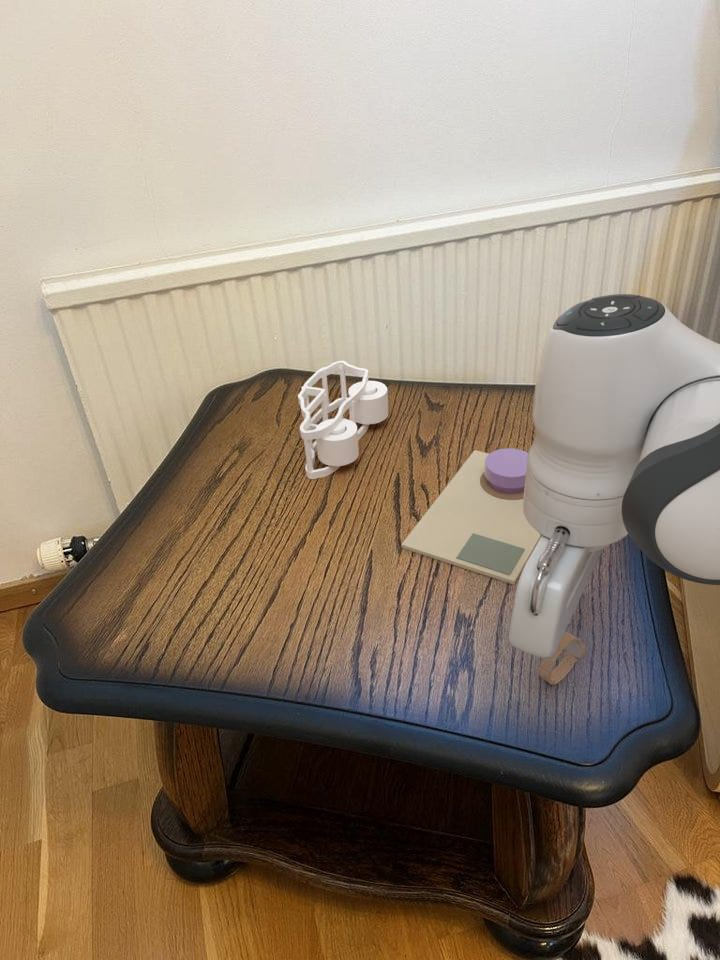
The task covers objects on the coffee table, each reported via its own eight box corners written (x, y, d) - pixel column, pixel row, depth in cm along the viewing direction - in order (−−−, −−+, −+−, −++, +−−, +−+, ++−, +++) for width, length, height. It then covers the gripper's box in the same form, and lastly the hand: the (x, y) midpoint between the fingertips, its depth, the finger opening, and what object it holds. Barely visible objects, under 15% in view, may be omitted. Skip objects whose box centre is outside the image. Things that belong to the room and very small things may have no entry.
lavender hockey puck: (541, 474, 98) (543, 455, 97) (524, 501, 94) (526, 482, 92) (495, 462, 101) (496, 443, 99) (476, 488, 97) (477, 469, 95)
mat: (574, 478, 99) (575, 474, 98) (514, 585, 83) (514, 580, 83) (474, 453, 105) (474, 448, 104) (401, 548, 90) (401, 543, 89)
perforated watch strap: (582, 669, 74) (588, 634, 71) (552, 698, 71) (557, 662, 68) (559, 654, 75) (564, 619, 72) (529, 682, 73) (533, 646, 70)
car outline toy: (345, 486, 100) (341, 439, 96) (271, 470, 104) (264, 425, 100) (398, 411, 115) (397, 368, 110) (332, 400, 119) (328, 358, 114)
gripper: (580, 591, 52) (558, 716, 60) (650, 442, 66) (624, 560, 74) (494, 562, 55) (484, 686, 63) (578, 425, 69) (561, 541, 77)
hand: (560, 616), depth 69 cm, fingers open, 8 cm apart
